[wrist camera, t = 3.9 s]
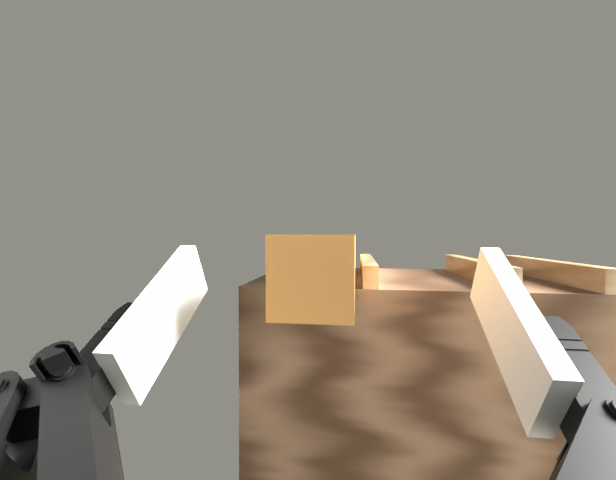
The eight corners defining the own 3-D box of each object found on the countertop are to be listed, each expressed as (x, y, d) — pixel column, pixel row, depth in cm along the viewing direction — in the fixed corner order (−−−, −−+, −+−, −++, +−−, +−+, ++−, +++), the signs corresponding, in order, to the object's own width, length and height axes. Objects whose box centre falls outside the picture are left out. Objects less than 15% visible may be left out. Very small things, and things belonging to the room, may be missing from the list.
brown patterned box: (239, 722, 24) (238, 264, 23) (282, 542, 38) (282, 253, 37) (669, 809, 20) (678, 269, 20) (541, 574, 34) (544, 255, 33)
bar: (265, 322, 14) (265, 234, 14) (322, 266, 37) (322, 234, 37) (354, 325, 13) (354, 234, 13) (355, 267, 37) (355, 234, 37)
